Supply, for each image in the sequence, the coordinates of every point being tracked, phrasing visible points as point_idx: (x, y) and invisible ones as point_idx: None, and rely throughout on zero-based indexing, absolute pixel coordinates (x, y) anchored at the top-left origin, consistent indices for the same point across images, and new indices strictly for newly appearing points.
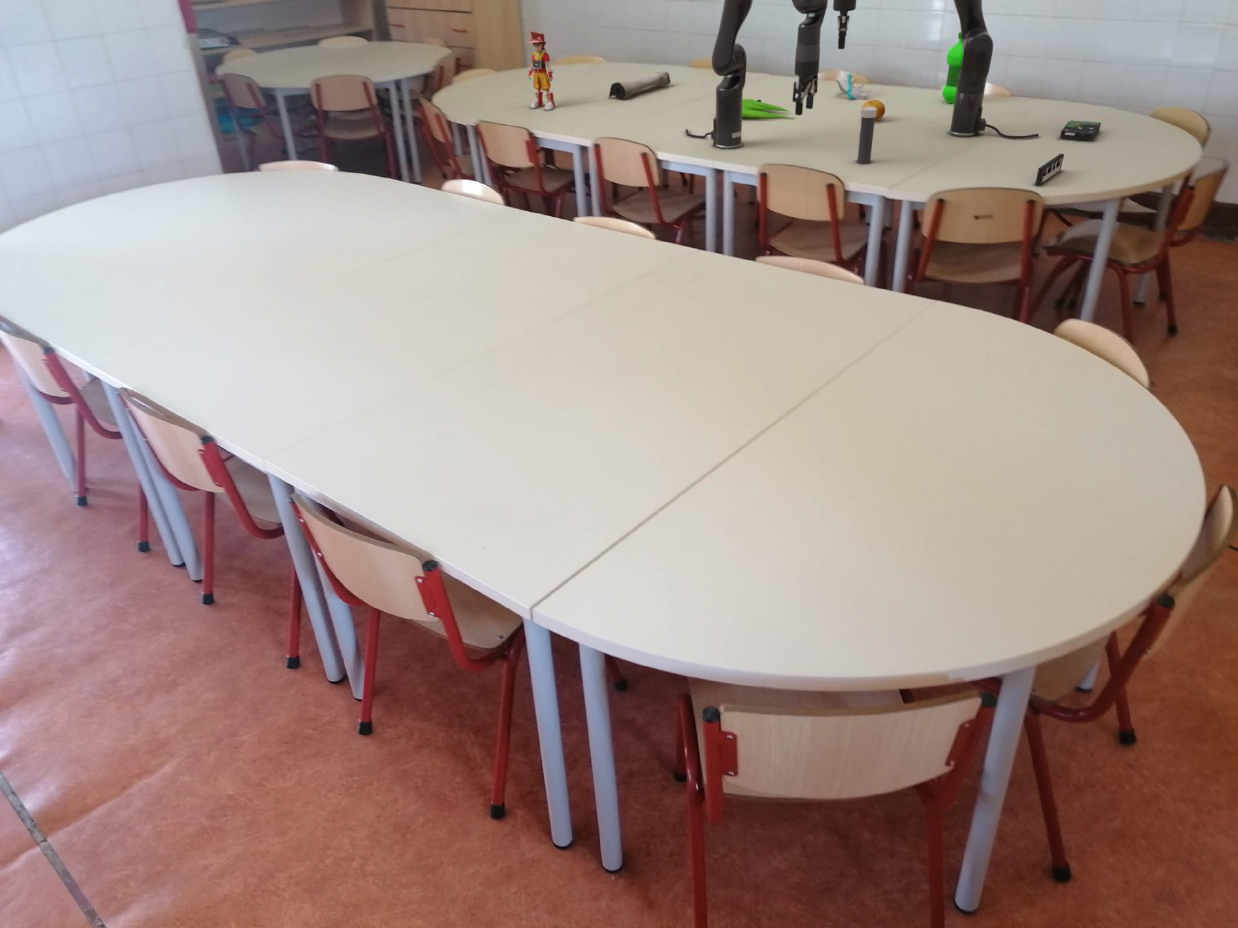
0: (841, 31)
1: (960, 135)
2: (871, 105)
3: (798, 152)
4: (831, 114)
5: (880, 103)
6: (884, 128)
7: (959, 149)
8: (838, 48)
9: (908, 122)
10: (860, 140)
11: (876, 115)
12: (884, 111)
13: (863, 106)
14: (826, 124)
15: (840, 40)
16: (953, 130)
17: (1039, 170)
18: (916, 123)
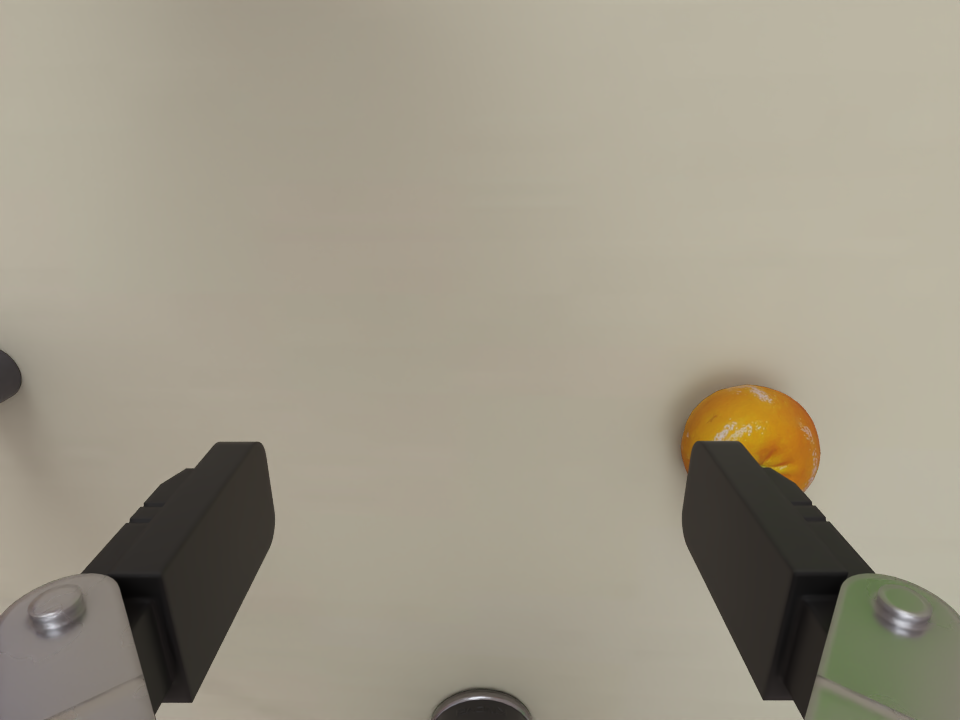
0: (820, 657)
1: (432, 717)
2: None
3: (64, 22)
4: (914, 212)
5: None
6: (576, 472)
7: (264, 698)
8: (224, 448)
9: (672, 567)
10: None
11: (682, 458)
12: None
13: (754, 410)
14: (686, 184)
15: (98, 571)
16: (454, 711)
17: None
18: (651, 594)
